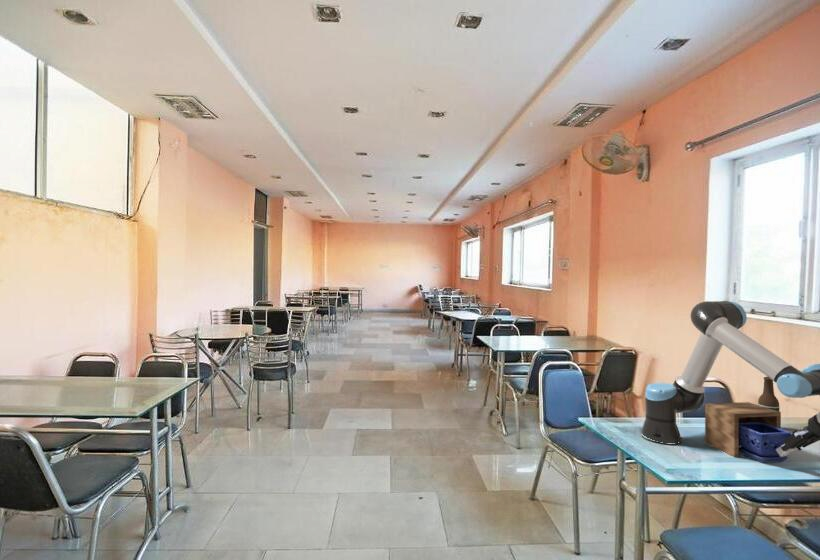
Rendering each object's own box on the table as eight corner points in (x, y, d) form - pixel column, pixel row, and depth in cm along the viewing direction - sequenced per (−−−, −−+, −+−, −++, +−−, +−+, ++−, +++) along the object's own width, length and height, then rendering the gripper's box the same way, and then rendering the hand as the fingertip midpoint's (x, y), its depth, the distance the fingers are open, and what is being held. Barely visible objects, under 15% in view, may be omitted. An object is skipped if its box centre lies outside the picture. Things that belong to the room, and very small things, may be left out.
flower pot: (731, 451, 174) (731, 422, 174) (761, 450, 175) (761, 421, 175) (761, 465, 160) (761, 433, 160) (793, 464, 162) (793, 432, 162)
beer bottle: (784, 431, 197) (784, 379, 198) (767, 431, 198) (767, 379, 198) (770, 425, 205) (770, 375, 205) (753, 425, 205) (753, 375, 205)
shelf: (780, 454, 171) (780, 412, 171) (734, 457, 168) (734, 413, 168) (748, 441, 185) (748, 402, 185) (705, 443, 182) (705, 403, 182)
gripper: (819, 434, 141) (771, 463, 157) (853, 433, 142) (802, 462, 159) (803, 413, 146) (757, 444, 163) (836, 412, 148) (788, 442, 164)
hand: (779, 453), depth 161 cm, fingers closed
